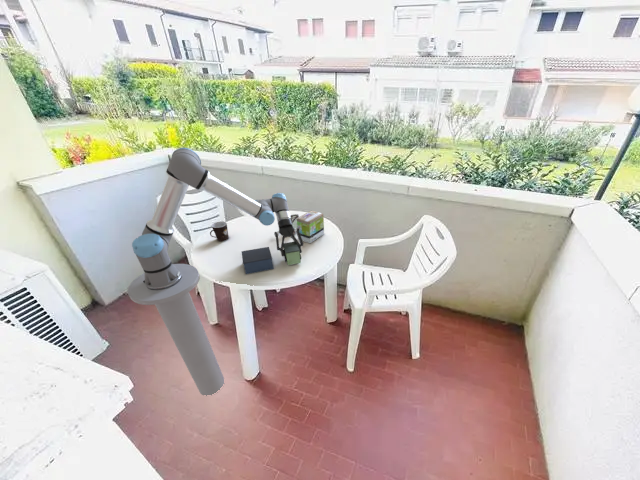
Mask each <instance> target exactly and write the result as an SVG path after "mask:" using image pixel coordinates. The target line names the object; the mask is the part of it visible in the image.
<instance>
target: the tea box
mask: <svg viewBox="0 0 640 480" xmlns="http://www.w3.org/2000/svg"><path fill="white" fill-rule="evenodd" d="M324 217H325V216H324V213H322V212H319V211H315V210H310V211H307V212H306V213H304V214H302V215H300V216H299V217H298V218H297V228H299V233H300V236H301V238H302V241H303V243H308V244H311V243H313V242H314V241H316V240H317V239H319V238H321V237H322V236H324V235H325V222H324V219H325V218H324Z"/></svg>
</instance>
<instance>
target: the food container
mask: <svg viewBox="0 0 640 480" xmlns="http://www.w3.org/2000/svg"><path fill="white" fill-rule="evenodd" d="M290 217H291V219H290V220H291V221H292V225H293V228H294V229H297V218H298V217H300V216H299V214H297V213H296V214H290ZM296 234H297V233H296V232H295V231H294V232H293V235H294V236H295V235H296Z"/></svg>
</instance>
